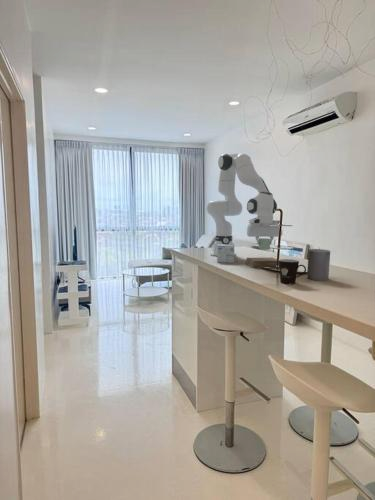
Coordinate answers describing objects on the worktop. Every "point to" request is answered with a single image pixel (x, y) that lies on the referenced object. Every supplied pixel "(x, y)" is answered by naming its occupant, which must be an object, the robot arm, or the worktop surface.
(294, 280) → the coffee mug
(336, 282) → the worktop surface
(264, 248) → the sage block
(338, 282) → the worktop surface
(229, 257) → the light bulb box
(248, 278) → the worktop surface
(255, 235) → the robot arm
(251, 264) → the walnut plinth
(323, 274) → the pillar candle
